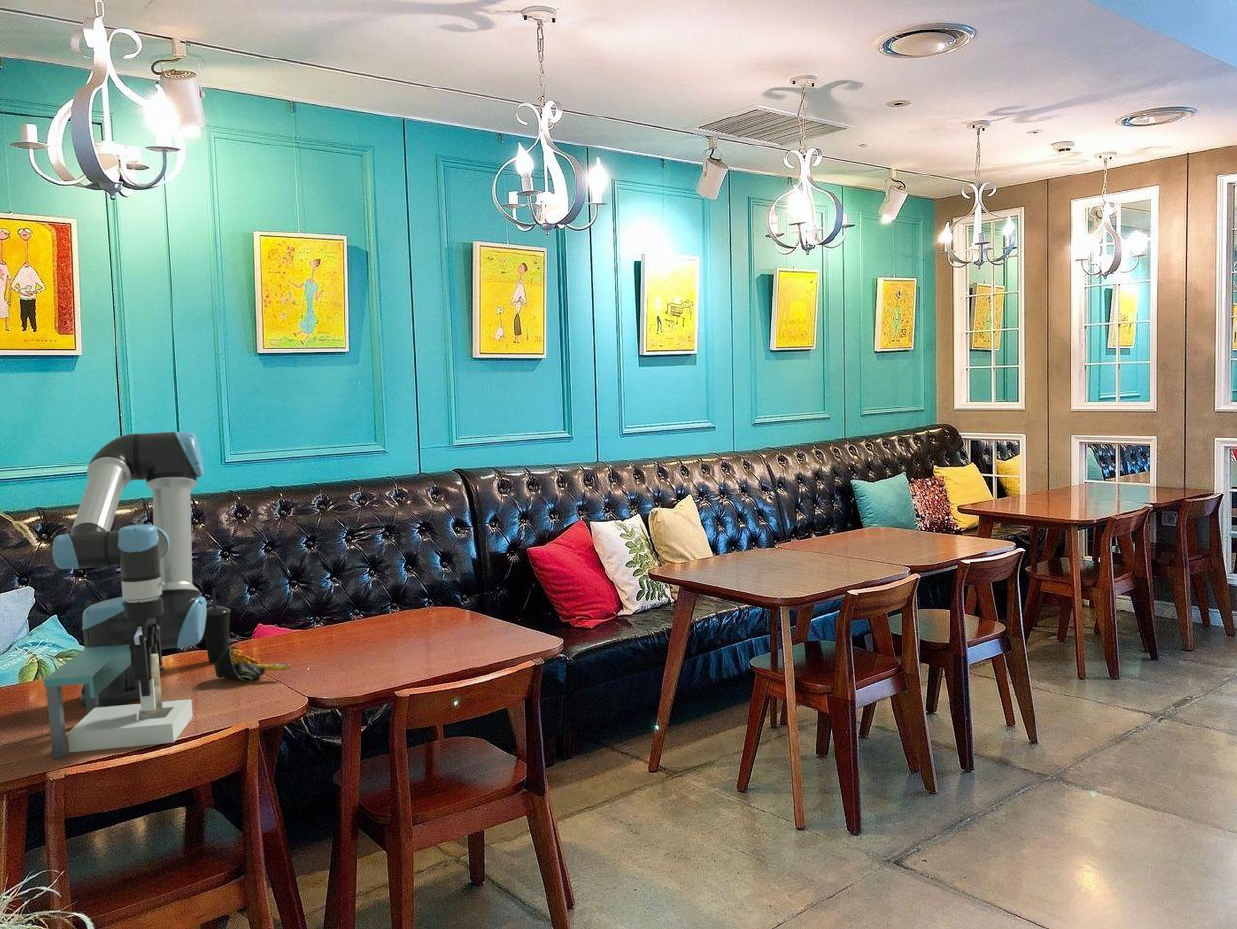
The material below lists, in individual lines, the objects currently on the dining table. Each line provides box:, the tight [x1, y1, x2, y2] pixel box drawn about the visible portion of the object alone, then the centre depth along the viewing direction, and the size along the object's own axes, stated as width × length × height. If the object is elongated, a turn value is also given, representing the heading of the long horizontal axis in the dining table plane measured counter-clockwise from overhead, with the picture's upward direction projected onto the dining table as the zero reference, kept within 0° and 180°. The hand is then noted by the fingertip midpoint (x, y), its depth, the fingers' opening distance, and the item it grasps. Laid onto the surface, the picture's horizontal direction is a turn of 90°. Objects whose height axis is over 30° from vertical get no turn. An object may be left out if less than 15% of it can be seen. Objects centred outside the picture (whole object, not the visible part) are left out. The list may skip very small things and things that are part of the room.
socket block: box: [66, 698, 194, 753], centre depth 209 cm, size 16×20×4 cm
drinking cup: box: [203, 587, 232, 664], centre depth 262 cm, size 8×8×20 cm
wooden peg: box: [142, 654, 163, 714], centre depth 209 cm, size 4×4×12 cm
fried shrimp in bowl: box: [213, 644, 291, 682], centre depth 246 cm, size 9×11×18 cm
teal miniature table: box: [43, 644, 131, 760], centre depth 207 cm, size 24×9×16 cm, turn 10°
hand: (151, 706), depth 209 cm, fingers closed on wooden peg, 4 cm apart
